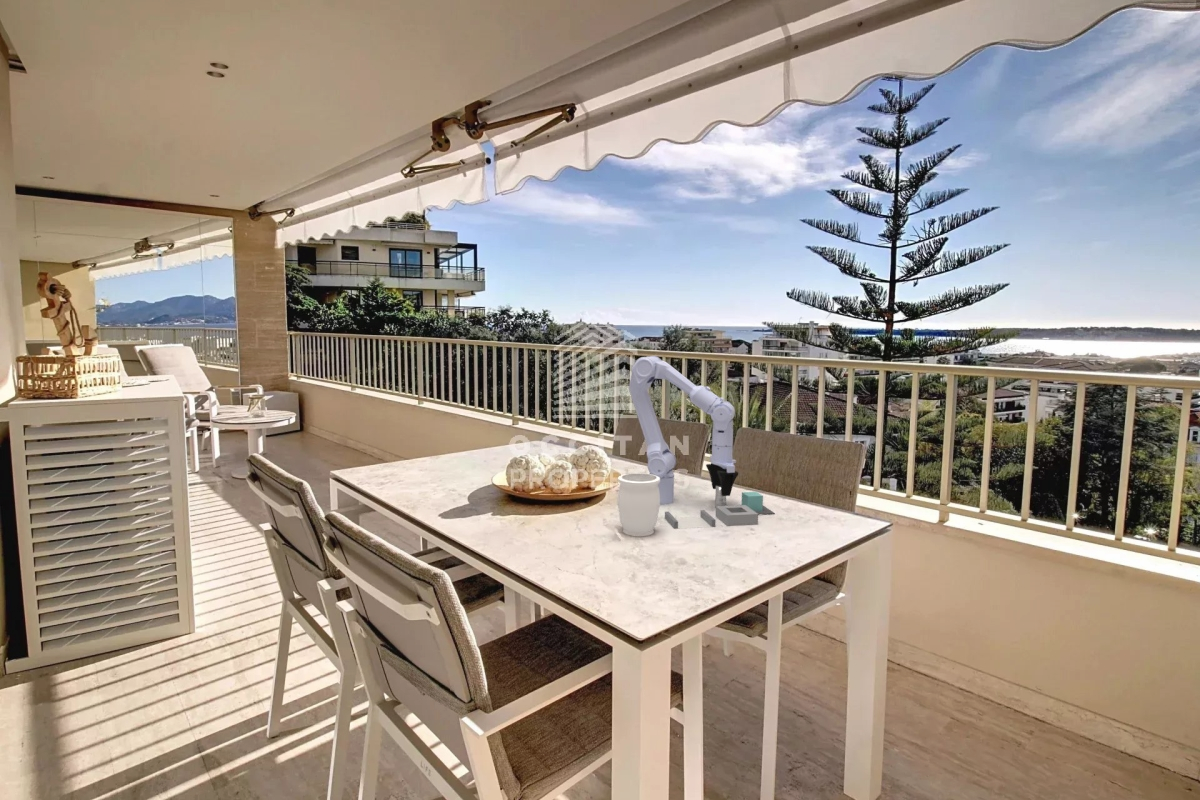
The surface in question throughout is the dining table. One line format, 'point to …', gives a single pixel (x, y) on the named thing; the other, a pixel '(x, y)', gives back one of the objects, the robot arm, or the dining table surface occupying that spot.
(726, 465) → the robot arm
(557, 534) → the dining table surface
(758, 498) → the block
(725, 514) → the grey blocks
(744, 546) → the dining table surface
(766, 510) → the pad
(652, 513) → the jar
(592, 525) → the dining table surface
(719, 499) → the rod
